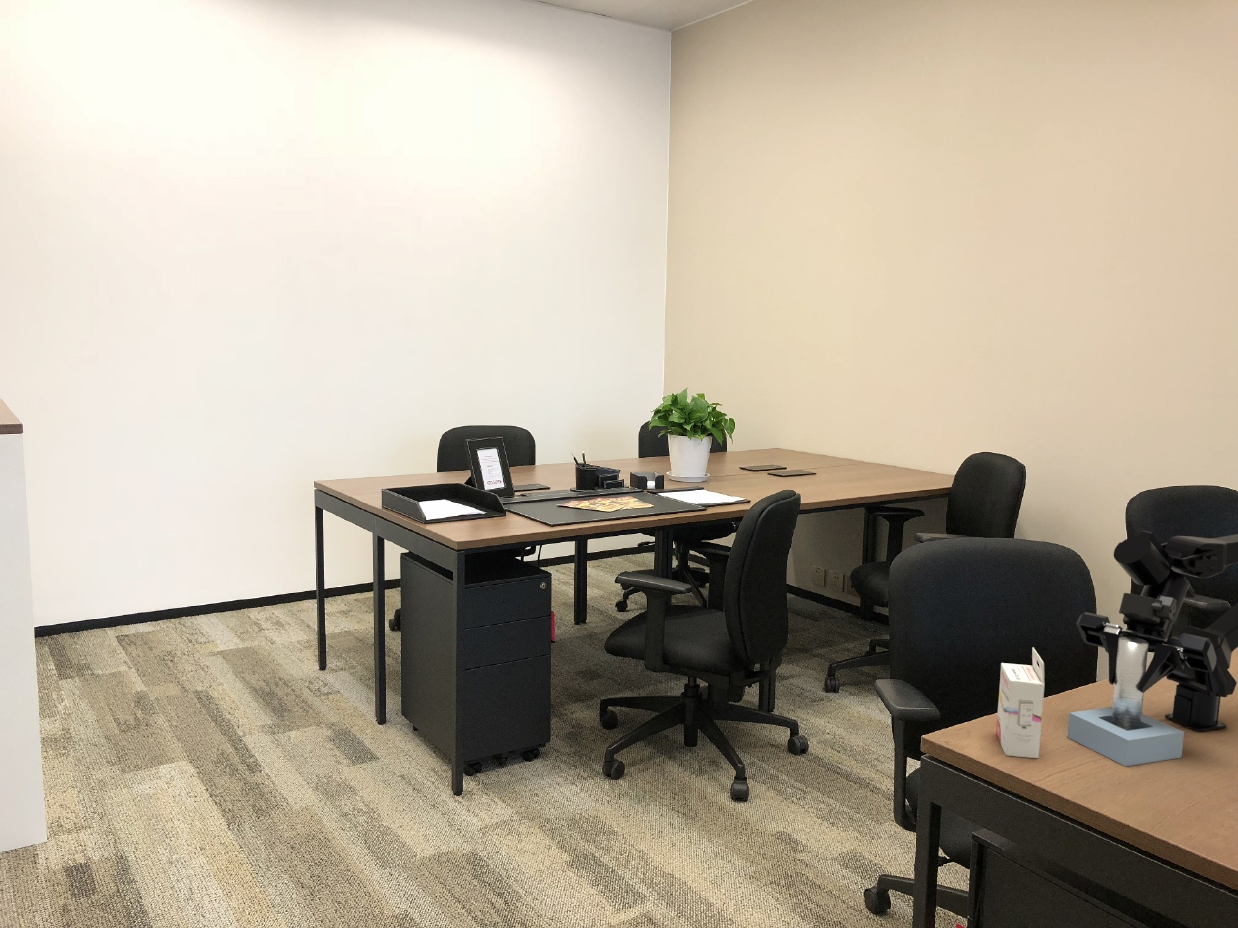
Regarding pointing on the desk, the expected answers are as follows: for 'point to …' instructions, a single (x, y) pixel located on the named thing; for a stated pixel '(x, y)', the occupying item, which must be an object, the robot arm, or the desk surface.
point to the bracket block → (1125, 737)
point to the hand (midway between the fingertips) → (1125, 686)
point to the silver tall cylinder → (1129, 683)
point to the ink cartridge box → (1021, 708)
